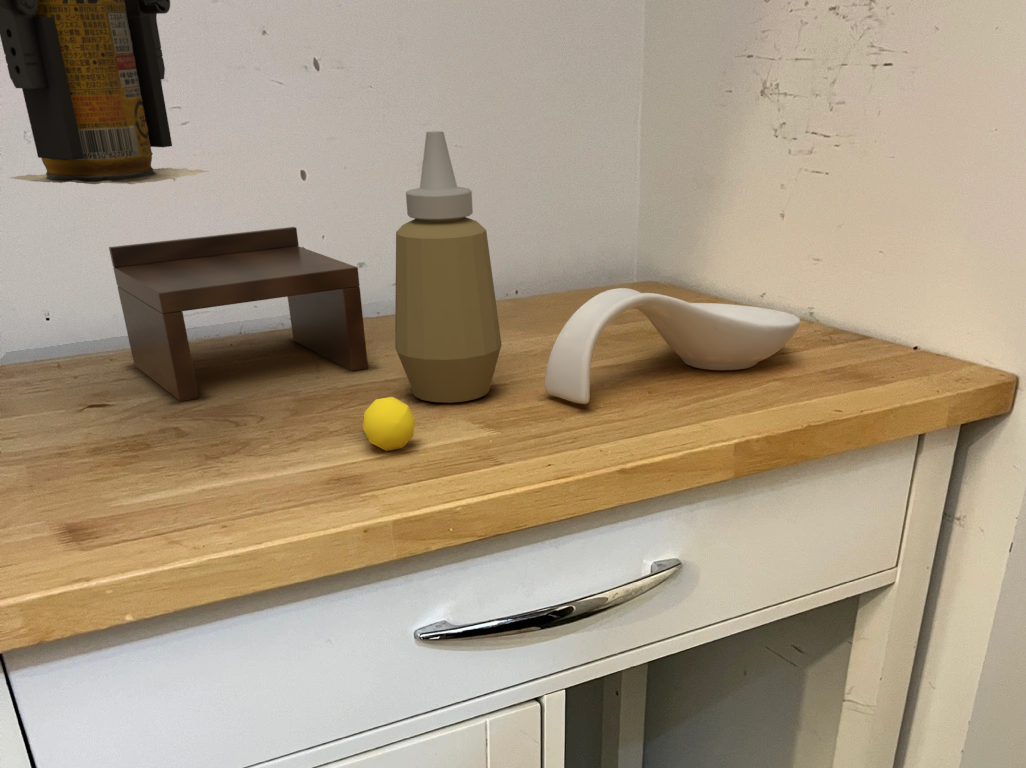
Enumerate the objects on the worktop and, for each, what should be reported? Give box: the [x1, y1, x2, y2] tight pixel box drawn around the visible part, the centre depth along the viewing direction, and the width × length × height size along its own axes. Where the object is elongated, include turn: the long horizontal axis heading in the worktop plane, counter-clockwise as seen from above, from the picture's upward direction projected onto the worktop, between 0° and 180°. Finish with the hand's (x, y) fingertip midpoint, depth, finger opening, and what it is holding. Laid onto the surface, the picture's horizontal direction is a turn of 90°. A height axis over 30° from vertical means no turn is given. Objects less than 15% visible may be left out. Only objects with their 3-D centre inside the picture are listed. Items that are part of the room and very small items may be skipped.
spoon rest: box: [543, 287, 801, 405], centre depth 86 cm, size 24×12×7 cm, turn 130°
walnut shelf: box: [108, 226, 369, 402], centre depth 90 cm, size 16×13×10 cm
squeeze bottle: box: [394, 130, 502, 404], centre depth 80 cm, size 8×8×18 cm
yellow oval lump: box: [362, 396, 416, 452], centre depth 74 cm, size 3×6×4 cm, turn 26°
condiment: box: [10, 0, 209, 185], centre depth 60 cm, size 7×8×12 cm
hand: (107, 150), depth 62 cm, fingers closed on condiment, 6 cm apart
